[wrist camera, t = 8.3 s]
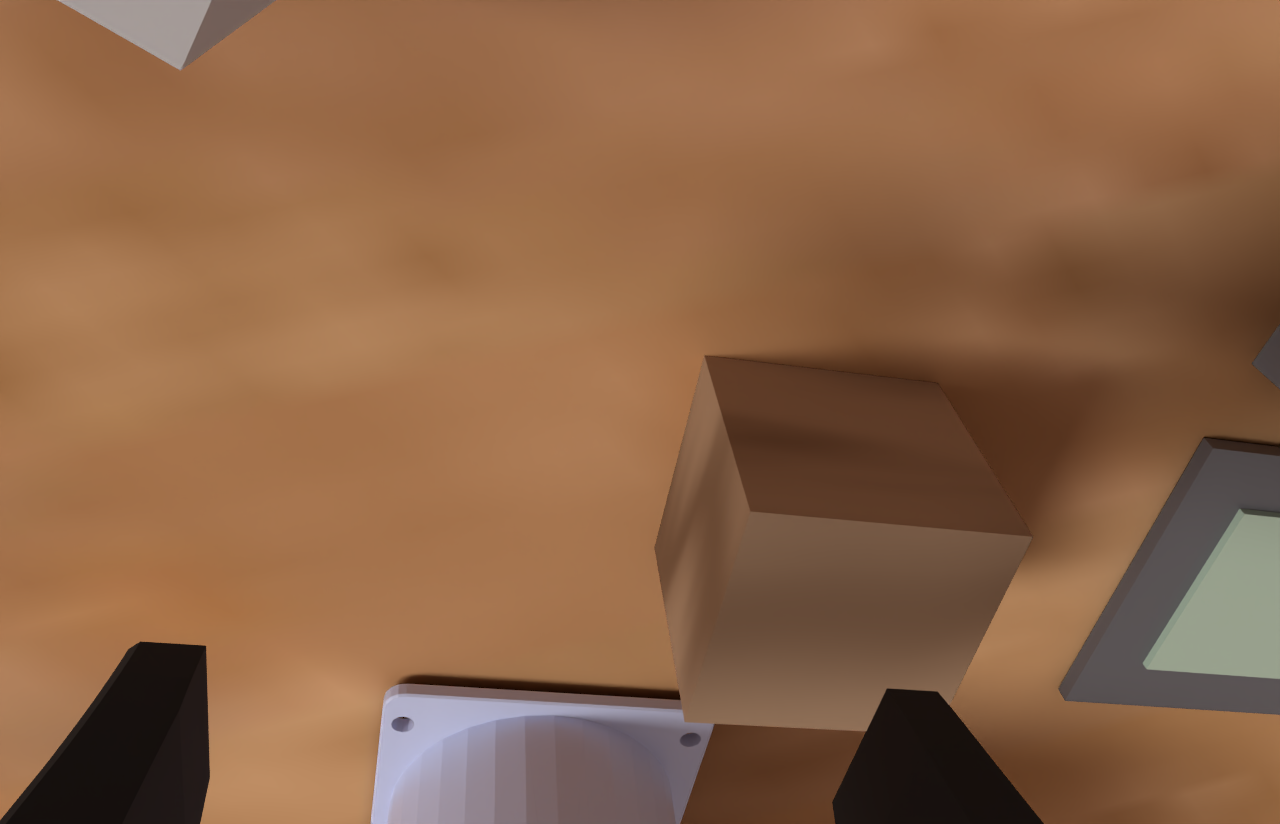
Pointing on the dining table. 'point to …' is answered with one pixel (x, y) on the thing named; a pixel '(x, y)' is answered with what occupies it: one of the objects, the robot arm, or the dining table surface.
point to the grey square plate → (1197, 596)
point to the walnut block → (827, 546)
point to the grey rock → (171, 23)
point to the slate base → (1270, 358)
